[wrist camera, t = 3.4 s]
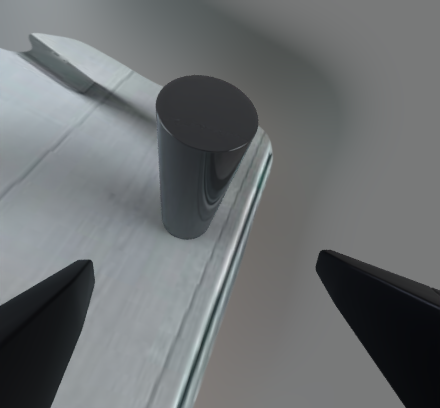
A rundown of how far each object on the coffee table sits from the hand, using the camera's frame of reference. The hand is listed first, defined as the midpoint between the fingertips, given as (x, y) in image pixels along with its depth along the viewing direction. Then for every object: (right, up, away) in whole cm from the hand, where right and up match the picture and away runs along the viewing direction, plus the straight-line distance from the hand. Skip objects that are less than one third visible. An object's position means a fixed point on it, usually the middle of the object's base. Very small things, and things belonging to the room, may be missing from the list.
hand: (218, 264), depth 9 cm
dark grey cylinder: (-3, +1, +15) cm, 15 cm away
